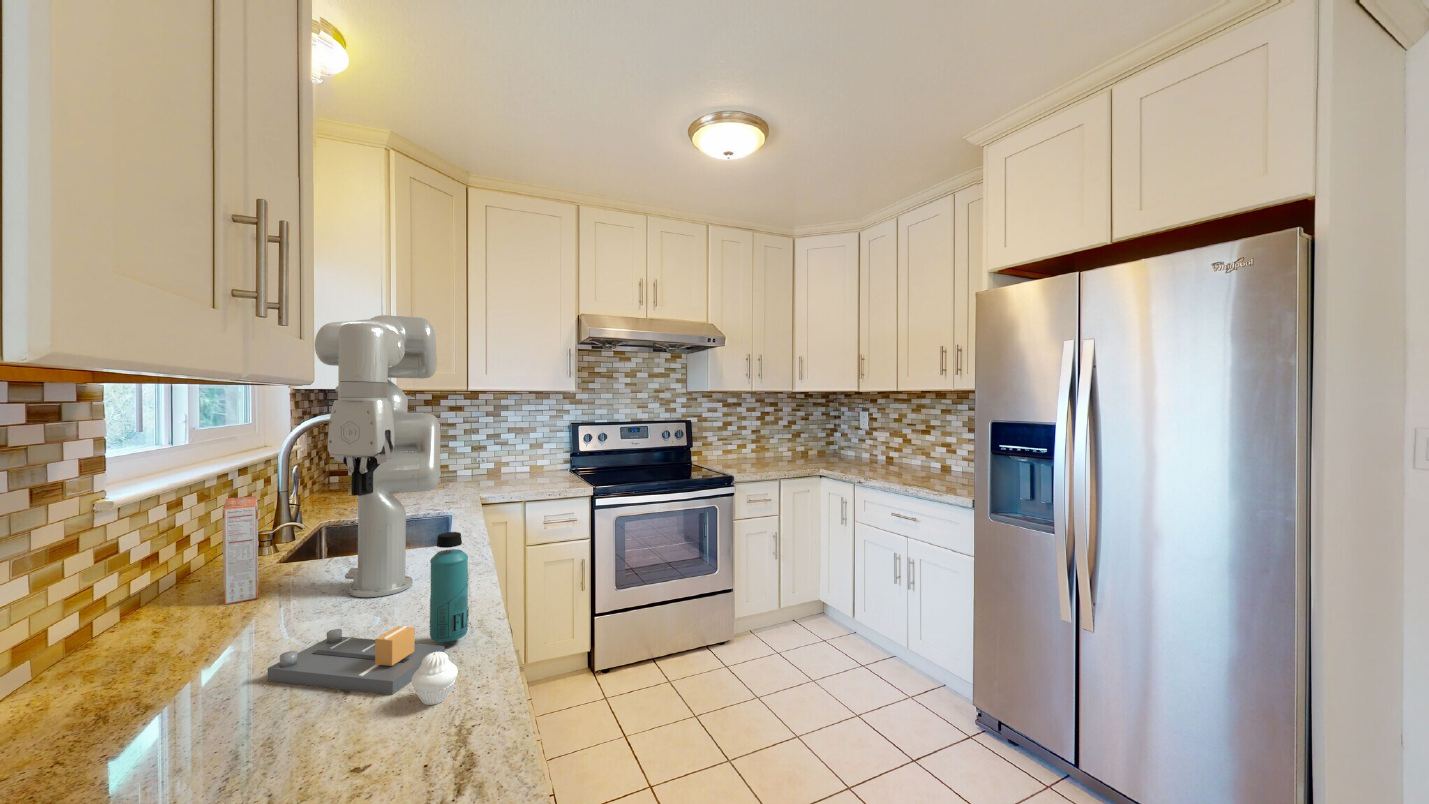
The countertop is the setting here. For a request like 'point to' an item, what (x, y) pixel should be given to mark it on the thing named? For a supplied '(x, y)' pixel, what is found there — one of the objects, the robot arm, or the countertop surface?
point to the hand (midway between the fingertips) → (362, 494)
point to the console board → (347, 665)
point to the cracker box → (240, 549)
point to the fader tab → (394, 645)
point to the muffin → (434, 678)
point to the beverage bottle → (449, 590)
